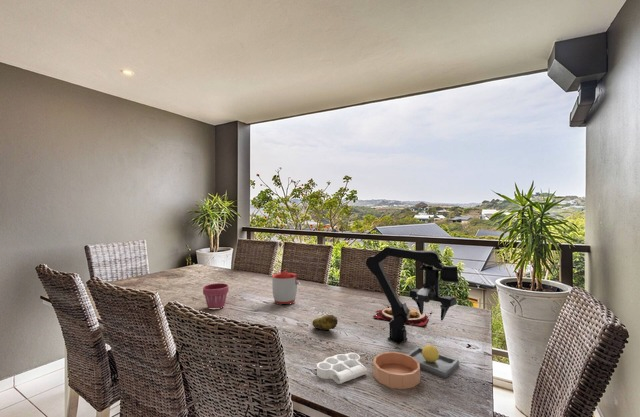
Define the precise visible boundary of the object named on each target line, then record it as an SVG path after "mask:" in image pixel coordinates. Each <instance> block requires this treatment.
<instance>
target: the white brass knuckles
mask: <svg viewBox="0 0 640 417" xmlns="http://www.w3.org/2000/svg"><path fill="white" fill-rule="evenodd" d="M367 374H368V369H367V367H366V366H365V365H363V363H361V355H359V354H358V353H356V352H348V353H344V354H343V353H340V354H339V353H337V354H335V355H333V356H328V357H326V358H325V359H324V360H323V361H320V362H318V363H316V375H317V377H319V378H320V379H325V380H327V379H331V380H333V381H334V382H335V383H336V384H338V385H342V384H343V383H345V382H349V381H351V380H355V379H356V378H359V377H362V376H364V375H367Z"/></svg>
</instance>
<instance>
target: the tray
mask: <svg viewBox="0 0 640 417" xmlns="http://www.w3.org/2000/svg"><path fill="white" fill-rule="evenodd" d="M423 348H424V347H421V346H417V347H416V348H414V349H413V350H410V351H409V352H408V353H406V355H409V356H412V357H414V358H415V359H416V360H417V361H418V362H419V363H420V370H423V371H426V372H428V373H430V374H433V375H436V376H438V377H441V378H443V379H446V378H448V377H449V375H451V374H452V373H453V372H454V371H455V370H457V368H458V367H459V366H460V360H459V359H456V358H453V357H451V356H448V355H444V354H442V353H439V358H438V360H437V361H436V362H433V363H430V362H428V361H426V360H425V359H424V358H423V356H422V350H423Z"/></svg>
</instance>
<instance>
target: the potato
mask: <svg viewBox="0 0 640 417" xmlns="http://www.w3.org/2000/svg"><path fill="white" fill-rule="evenodd" d="M337 325H338V318H337V317H336V316H335V315H332V314H326V315H323V316H321V317H318V318H315V319H313V321H312V326H313V328H315V329H319V330H322V331H329V330H334V329H335V328H336V327H337Z"/></svg>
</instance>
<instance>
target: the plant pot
mask: <svg viewBox="0 0 640 417" xmlns="http://www.w3.org/2000/svg"><path fill="white" fill-rule="evenodd" d="M229 288H230V287H229V284H227V283H223V282H222V283H221V282H219V283H218V282H217V283H210V284H206V285H204V286H202V294H203V295H204V297H205V302H206V306H207V309H208V308H221V307H223V306H224V307H225V304H226V300H227V296H228V293H229Z"/></svg>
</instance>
